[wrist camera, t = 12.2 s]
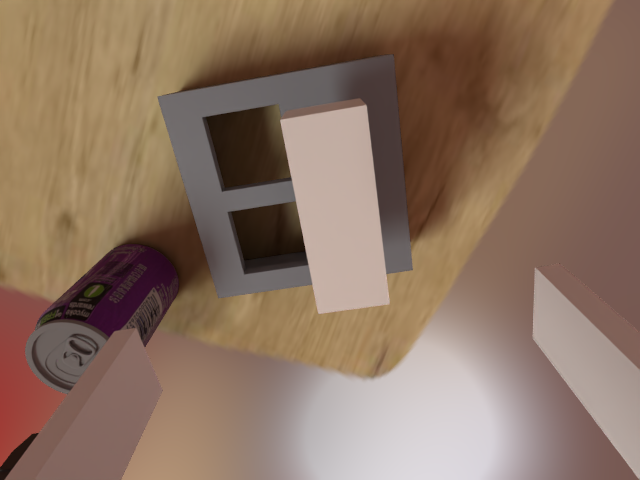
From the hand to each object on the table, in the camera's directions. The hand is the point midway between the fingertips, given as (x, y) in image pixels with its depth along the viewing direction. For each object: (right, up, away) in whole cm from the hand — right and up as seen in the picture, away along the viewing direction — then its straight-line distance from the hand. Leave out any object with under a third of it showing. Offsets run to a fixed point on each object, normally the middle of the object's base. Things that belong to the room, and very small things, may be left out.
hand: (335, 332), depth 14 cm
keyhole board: (-2, +8, +21) cm, 23 cm away
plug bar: (+1, +9, +21) cm, 23 cm away
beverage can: (-17, 0, +25) cm, 30 cm away
